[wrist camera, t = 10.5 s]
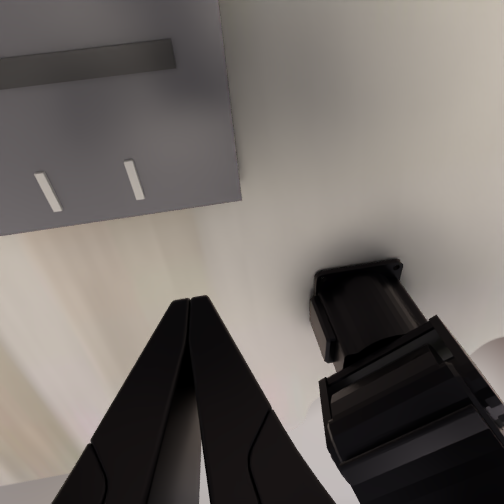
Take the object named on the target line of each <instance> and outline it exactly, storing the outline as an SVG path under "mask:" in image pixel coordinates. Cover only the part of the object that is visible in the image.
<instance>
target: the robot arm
mask: <svg viewBox="0 0 504 504" xmlns="http://www.w3.org/2000/svg"><path fill="white" fill-rule="evenodd" d="M402 268H403V264H402V263H401V261H400V260H399V259H392V260H386V261H380V262H374V263H367V264H361V265H355V266H349V267H343V268H337V269H331V270H324V271H320V272H318V273H317V274H316V275H315V284H314V296H312V297H311V299H310V322H311V325H312V328H313V331H314V334H315V336H316V339H317V342H318V345H319V347H320V350H321V353H322V356H323V359H324V361H325V362H327V363H333V364H334V366H335V369H336V372H337V373H335V374H333V375H331V376H330V377H328V378H326V377H325V378H323V379H321V380H320V381H319V389H320V399H321V405H322V414H323V422H324V429H325V437H326V444H327V449H328V451H329V453H330V454H331V458H332V459H333V461H334V462H335V464H336V466H337V468H338V469H339V471H340V473H341V474H342V475H343V477H344V478H345V479H346V481H347V482H348V483H349V484H350V485H351V487H352V489H353V491H354V493H355V494H356V496H357V498H358V500H359V502H360V504H504V403H503V402H502V400H501V399H500V397H499V396H498V395H497V393H496V392H495V390H494V389H493V388H492V386H491V385H490V384H489V382H488V381H487V379H486V378H485V377H484V375H483V374H482V373H481V371H480V370H479V369H478V367H477V366H476V365H475V364H474V362H473V361H472V360H471V358H470V357H469V355H468V354H467V353H466V352H465V350H464V349H463V348H462V346H461V345H460V344H459V342H458V341H457V340H456V339H455V337H454V336H453V335H452V334H451V332H450V331H449V330H448V329H447V327H446V326H445V325H444V324H443V322H442V321H441V320H440V318H439V317H438V316H437V315H435V316H433V317H432V318H430V319H429V321H427V319H426V318H425V317H424V315H423V314H422V312H421V311H420V310H419V308H418V307H417V305H416V304H415V303H414V301H413V300H412V298H411V297H410V295H409V294H408V293H407V291H406V290H405V288H404V287H403V286H402V284H401V283H400V281H399V280H400V276H401V272H402ZM322 277H324V278H322ZM321 278H322V279H321ZM201 440H202V447H203V454H204V462H205V469H206V476H207V484H208V490H209V498H210V504H336V503H335V502H334V500H333V499H332V498H331V496H330V495H329V494H328V492H327V491H326V490H325V488H324V487H323V486H322V484H321V483H320V482H319V480H318V479H317V477H316V476H315V475H314V473H313V472H312V470H311V469H310V468H309V466H308V465H307V463H306V462H305V461H304V459H303V457H302V456H301V455H300V453H299V452H298V450H297V449H296V447H295V445H294V444H293V442H292V440H291V439H290V437H289V436H288V434H287V432H286V431H285V429H284V427H283V426H282V424H281V422H280V421H279V419H278V417H277V415H276V413H275V412H274V410H272V407H271V405H270V403H269V402H268V400H267V398H266V396H265V395H264V393H263V391H262V389H261V388H260V386H259V384H258V382H257V381H256V379H255V377H254V375H253V374H252V372H251V370H250V368H249V367H248V365H247V363H246V361H245V359H244V358H243V356H242V354H241V352H240V351H239V349H238V347H237V345H236V344H235V342H234V340H233V338H232V337H231V335H230V333H229V331H228V330H227V328H226V326H225V324H224V323H223V321H222V319H221V317H220V316H219V314H218V312H217V310H216V309H215V307H214V305H213V303H212V302H211V300H210V298H209V297H208V296H207V295H203V296H197V297H192V298H191V300H190V299H189V298H185V299H179V300H174V301H172V302H171V304H170V306H169V307H168V309H167V311H166V313H165V314H164V316H163V318H162V319H161V321H160V323H159V324H158V326H157V328H156V329H155V331H154V333H153V335H152V336H151V338H150V340H149V341H148V343H147V345H146V346H145V348H144V350H143V352H142V353H141V355H140V357H139V358H138V360H137V362H136V363H135V365H134V367H133V368H132V370H131V372H130V374H129V375H128V377H127V379H126V380H125V382H124V384H123V385H122V387H121V389H120V391H119V392H118V394H117V396H116V397H115V399H114V401H113V402H112V404H111V406H110V408H109V409H108V411H107V413H106V414H105V416H104V418H103V419H102V421H101V423H100V424H99V426H98V428H97V430H96V431H95V433H94V435H93V436H92V438H91V443H89V444H88V445H87V446H86V448H85V450H84V451H83V453H82V455H81V456H80V458H79V460H78V461H77V463H76V465H75V466H74V468H73V470H72V471H71V473H70V475H69V476H68V478H67V480H66V481H65V483H64V484H63V486H62V487H61V489H60V491H59V492H58V494H57V496H56V497H55V499H54V500H53V502H52V504H199V489H200V462H201Z"/></svg>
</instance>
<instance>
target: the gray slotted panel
mask: <svg viewBox="0 0 504 504" xmlns="http://www.w3.org/2000/svg"><path fill="white" fill-rule="evenodd" d="M241 200H242V197H241V188H240V179H239V171H238V162H237V154H236V145H235V137H234V128H233V120H232V111H231V102H230V94H229V85H228V77H227V68H226V60H225V51H224V43H223V34H222V26H221V17H220V8H219V0H0V236H4V235H11V234H18V233H25V232H31V231H38V230H45V229H52V228H58V227H65V226H72V225H79V224H86V223H92V222H99V221H106V220H113V219H119V218H126V217H133V216H140V215H147V214H153V213H160V212H167V211H174V210H180V209H187V208H194V207H201V206H207V205H214V204H221V203H228V202H235V201H241Z"/></svg>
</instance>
